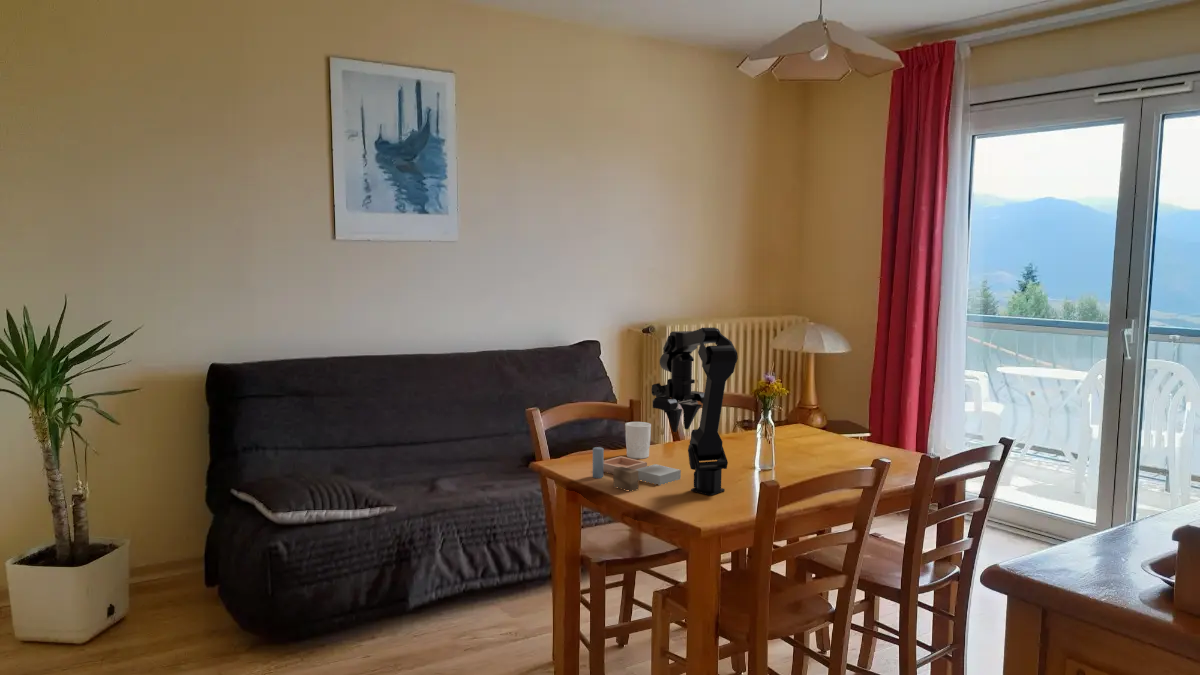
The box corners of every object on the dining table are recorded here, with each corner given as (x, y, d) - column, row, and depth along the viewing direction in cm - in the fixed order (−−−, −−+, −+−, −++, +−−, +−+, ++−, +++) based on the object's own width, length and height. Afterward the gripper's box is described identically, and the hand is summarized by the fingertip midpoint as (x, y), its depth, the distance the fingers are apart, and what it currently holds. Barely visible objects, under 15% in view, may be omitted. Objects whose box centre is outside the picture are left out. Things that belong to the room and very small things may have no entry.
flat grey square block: (680, 480, 224) (680, 469, 224) (659, 486, 218) (659, 476, 218) (655, 474, 231) (655, 464, 230) (634, 480, 224) (634, 469, 224)
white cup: (655, 455, 251) (655, 423, 251) (643, 460, 245) (643, 427, 244) (632, 452, 255) (632, 420, 255) (620, 457, 249) (620, 424, 248)
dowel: (605, 476, 226) (605, 448, 225) (598, 479, 224) (598, 450, 223) (597, 474, 228) (598, 446, 227) (590, 476, 226) (590, 448, 225)
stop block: (638, 489, 214) (638, 470, 213) (630, 491, 212) (630, 472, 211) (621, 484, 218) (621, 466, 217) (613, 487, 216) (613, 468, 215)
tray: (646, 470, 233) (647, 462, 233) (623, 476, 226) (623, 468, 226) (620, 464, 240) (621, 456, 240) (597, 470, 233) (597, 462, 233)
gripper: (679, 369, 241) (678, 421, 242) (637, 376, 228) (637, 431, 229) (710, 373, 233) (709, 427, 235) (669, 380, 220) (668, 437, 221)
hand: (680, 430), depth 230 cm, fingers open, 5 cm apart
